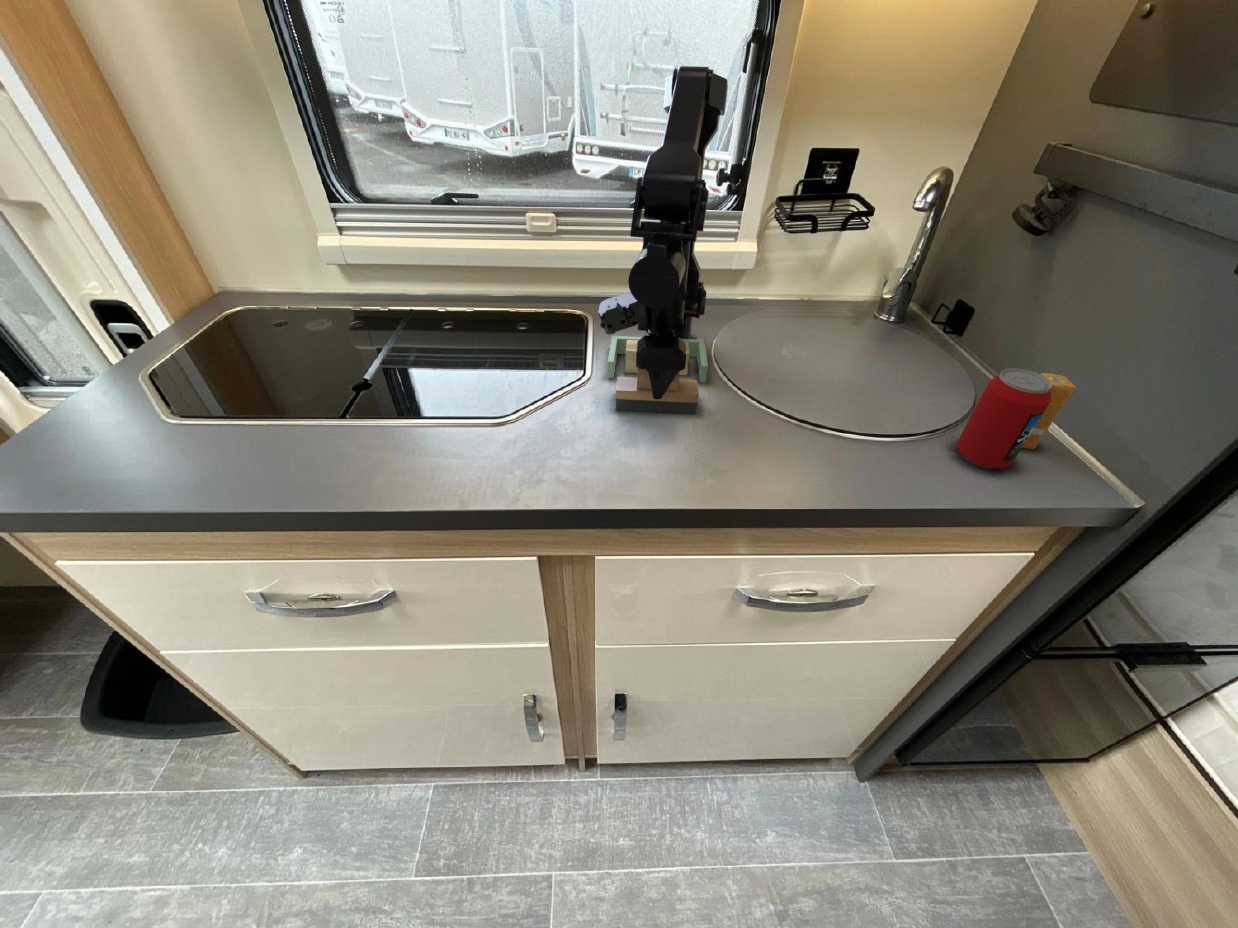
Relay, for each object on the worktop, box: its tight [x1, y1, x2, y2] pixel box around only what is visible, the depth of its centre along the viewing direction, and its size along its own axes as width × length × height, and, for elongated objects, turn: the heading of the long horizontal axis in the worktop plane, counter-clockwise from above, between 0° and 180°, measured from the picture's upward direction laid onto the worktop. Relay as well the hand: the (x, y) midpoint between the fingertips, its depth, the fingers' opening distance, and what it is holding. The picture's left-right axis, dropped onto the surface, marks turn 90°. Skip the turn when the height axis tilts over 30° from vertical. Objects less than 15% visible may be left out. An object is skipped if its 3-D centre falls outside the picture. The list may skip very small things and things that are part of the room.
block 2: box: [679, 342, 690, 376], centre depth 87 cm, size 4×4×4 cm
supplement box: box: [1022, 372, 1077, 450], centre depth 70 cm, size 3×4×10 cm
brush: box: [615, 368, 700, 415], centre depth 77 cm, size 4×12×8 cm, turn 86°
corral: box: [607, 335, 709, 383], centre depth 88 cm, size 10×16×3 cm, turn 86°
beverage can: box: [956, 367, 1052, 469], centre depth 67 cm, size 7×7×12 cm
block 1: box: [624, 340, 639, 374], centre depth 87 cm, size 4×4×4 cm
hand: (657, 383), depth 77 cm, fingers open, 8 cm apart
